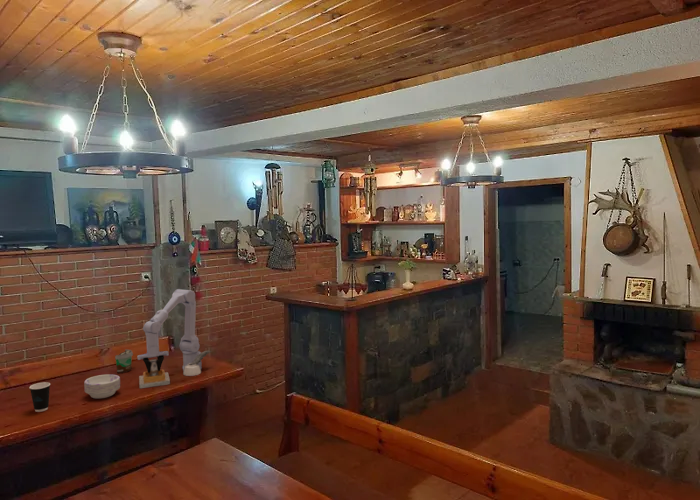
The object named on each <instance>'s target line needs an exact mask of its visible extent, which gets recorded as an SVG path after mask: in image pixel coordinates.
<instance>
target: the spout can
mask: <svg viewBox="0 0 700 500" xmlns="http://www.w3.org/2000/svg"><path fill="white" fill-rule="evenodd" d="M149 369H150V373H149V376H156V375H159V371H158V359H149Z"/></svg>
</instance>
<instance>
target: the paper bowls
mask: <svg viewBox="0 0 700 500" xmlns="http://www.w3.org/2000/svg"><path fill="white" fill-rule="evenodd" d="M83 383H84V393H86V394H88V395H89V396H90V397H91V398H93V399H98V400H99V399H106V398H110V397H113V395H114V394H115V393H116V392H117V391H118V390H120V388H121V377H120V376H119V375H117V374H112V373H111V374H99V375H94V376H91V377H88V378H86V379H85V380H84V382H83Z"/></svg>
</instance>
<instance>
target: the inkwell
mask: <svg viewBox="0 0 700 500" xmlns="http://www.w3.org/2000/svg"><path fill="white" fill-rule="evenodd" d="M209 353H212V351H211V350H204V351H202V352H201V353H200V354H199V355H198V356H197V357H196V358H195V359H194V361H193V362H192V363H189V364H188V365H186V366H185V368H184V371H183V373H182V374H183V376H187V377H194V376H198V375H200V374H201V373H202V369H200V367H199V365H198V363H199V362H202V360H203V359H204V357H206V356H207V355H208V354H209Z"/></svg>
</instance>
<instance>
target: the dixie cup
mask: <svg viewBox="0 0 700 500" xmlns="http://www.w3.org/2000/svg"><path fill="white" fill-rule="evenodd" d="M50 387H51V383H50V382H47V381H46V382H45V381H44V382H37V383H34V384H31V385H30V386H29V390H30V394H31V395H30V396H31V400H32V404H33V409H34V411H35V412H37V413H41V412H45V411H47V410H48V409H49V404H50V403H49V402H50V389H51V388H50Z"/></svg>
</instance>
